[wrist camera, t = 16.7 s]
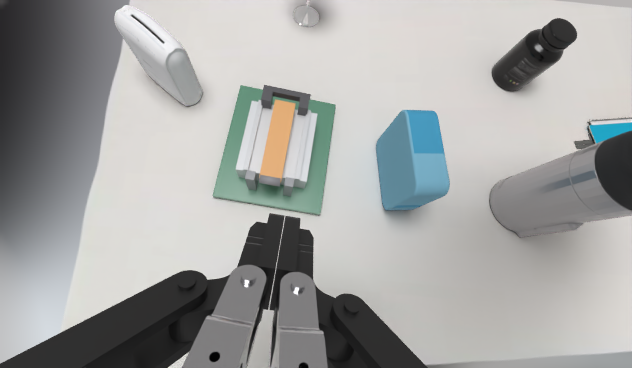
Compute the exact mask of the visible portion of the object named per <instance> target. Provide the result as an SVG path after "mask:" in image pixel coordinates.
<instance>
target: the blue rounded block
mask: <svg viewBox="0 0 632 368" xmlns="http://www.w3.org/2000/svg"><path fill="white" fill-rule="evenodd" d="M376 152H377V161H378V169H379V178H380V187H381V196H382V204H383V207H384V208H385V209H386V210H413V209H415V208H417V207H420V206H422V205H424V204H427V203H429V202H431V201H434V200H436V199H438V198H441V197H443V196H445V195H446V194H447V192H448V190H449V185H450V183H449V176H448V171H447V165H446V160H445V154H444V149H443V143H442V138H441V132H440V126H439V121H438V116H437V114H436V113H435V112H434V111H421V110H402V111H401V112H400V113H399V114H398V116H397V117H396V118H395V119H394V121H393V122H392V123H391V124H390V126H389V127H388V128H387V129H386V131H385V132H384V133H383V134H382V135H381V137H380V138H379V139H378V141H377V145H376Z"/></svg>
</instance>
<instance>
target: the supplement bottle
mask: <svg viewBox="0 0 632 368" xmlns="http://www.w3.org/2000/svg"><path fill="white" fill-rule="evenodd" d="M576 32H577V31H576V29H575V28H574V26H573V25H572V24H571V23H570V22H568V21H566V20H564V19H561V18H557V19H553V20H552V21H551V22H549V23H548V24H547V25H546V26H544V27H543V28H542V29H537V30H534V31H532V32H530V33H528V34H527V35H526V36H525V37H524V38H523V39H522V40H521V41H520V42H519V43H517V44H516V45H515V46H514V47H513V48H512V49H511V50H510V51H509V52H508V53H507V54H506V55H505V56H503V57H502V58H501V59H500V60H499V61H498V62H497V63H496V64H495V65H494V67H493V71H492V74H493V78H494V80H495V82H496V83H497V84H498V85H499V86H500V87H501V88H503V89H505V90H509V91H516V90H519V89H521V88H522V87H524V86H525V85H526V84H528V83H529V82H530V81H532V80H533V79H535V78H536V77H537V76H539V75H540V74H541V73H543V72H544V71H545V70H547V69H548V68H550V67H551V66H552V65H554V64H555V63H556V62H557V61H559V60H560V58H561V57H562V54H563V50H564V49H565V48H567V47H568V46H569V45H570V44H571V43H573V42H574V41H575V40H576V38H577V33H576Z"/></svg>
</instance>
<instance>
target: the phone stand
mask: <svg viewBox="0 0 632 368" xmlns="http://www.w3.org/2000/svg"><path fill="white" fill-rule="evenodd" d="M618 118H619V117H618ZM589 121H590V119H589ZM587 123H591V125H590V126H589V132H590V134H588V136H589V138H590V140H583V141H574V142H575V145H576V147H577V149H583V148H586V147H589V146H591V145H594V144H597V143H599V142H602V141H604V140H607V139H609V138H612V137H614V136H617V135H619V134H622V133H625V132H628V131H632V118H619V119H604V120H601V119H600V120H592V121H590V122H587ZM581 144H585V145H581Z"/></svg>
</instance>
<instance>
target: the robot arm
mask: <svg viewBox="0 0 632 368" xmlns="http://www.w3.org/2000/svg"><path fill="white" fill-rule="evenodd" d="M490 206H491V209H492V212H493V214H494V216H495V217H496V219H497V220H498V221H499V222H500V223H501V224H502V225H503V226H504V227H506V228H507V229H510V230H512V231H514V232H516V233H517V234H518V236H519V237H526V236H534V235H541V234H549V233H556V232H564V231H571V230H576V229H577V228H579V227H580V226H581V225H582V224H583V223H586V222H592V221H599V220H605V219H612V218H618V217H624V216H631V215H632V131H628V132H625V133H622V134H619V135H617V136H614V137H612V138H609V139H607V140H604V141H602V142H599V143H597V144H594V145H591V146H589V147H586V148H584V149H581V150H579V151H576V152H574V153H571V154H568V155H566V156H563V157H561V158H558V159H556V160H553V161H550V162H548V163H545V164H543V165H540V166H538V167H535V168H532V169H530V170H527V171H525V172H522V173H520V174H517V175H515V176H511V177H509V178H507V179H504V180H502V181H500V182H498V183H497V184H496V185H495V186H494V187H493V189H492V191H491V194H490ZM283 221H284V216H283V215H277V214H271V213H270V214H269V218H268V222H267V223H261V222H256V223H255V224H254V225H253V226H252V227H251V228H250V230H249V233H248V237H247V239H246V243H245V245H244V248H243V251H242V254H241V257H240V260H239V263H238V266H237V268H236V269H234V270H233V271H232V273H231V274H230V275H228V276H226V277H224V278H220V279H212V280H207V278H206V277H205V276H204V275H203V274H202V273H200V272H198V271H193V270H188V271H182V272H179V273H177V274H175V275H173V276H171V277H169V278H167V279H165V280H163V281H161V282H159V283H157V284H155V285H153V286H151V287H149V288H147V289H145V290H143V291H142V292H140V293H138V294H136V295H134V296H132V297H130V298H128V299H126V300H124V301H122V302H120V303H118V304H116V305H114V306H112V307H110V308H108V309H106V310H104V311H102V312H100V313H99V314H97V315H95V316H93V317H91V318H89V319H87V320H85V321H83V322H81V323H79V324H77V325H75V326H73V327H71V328H69V329H67V330H65V331H63V332H61V333H59V334H58V335H56V336H54V337H52V338H50V339H48V340H46V341H44V342H42V343H40V344H38V345H36V346H34V347H32V348H30V349H28V350H27V351H24V352H23V353H20V354H18V355H16V356H15V357H13V358H11V359H9V360H7V361H5V362H3V363H1V364H0V368H168V367H169V366H170V365H172V364H173V363H174V362H176V361H177V360H178V359H180V358H181V357H182V356H184V355H185V354H186V353H188V352H189V351H190V352H189V354H188V356H187V358H186V360H185V362H184V365H183V367H182V368H247V366H248V362H249V359H250V355H251V352H252V348H253V344H254V341H255V337H256V334H257V330H258V326H259V323H260V321H261V318H262V313H263V309H267V310H268V307H269V301H270V296H271V290H272V285H273V279H274V274H275V268H276V262H277V257H278V262H277V268H276V274H275V280H274V286H273V292H272V298H271V304H270V310H274V317H273V323H272V328H271V341H270V356H269V368H427V367H426V366H425V365H424V364H423V363H422V361H421V360H420V359H419V358H418V357H417V356H416V355H415V354H414V353H413V352H412V351H411V350H410V349H409V348H408V347H407V346H406V345H405V344H404V343H403V342H402V341H401V340H400V339H399V338H398V337H397V335H396V334H395V333H394V332H393V331H392V330H391V329H390V328H389V327H388V326H387V325H386V324H385V323H384V322H383V321H382V320H381V319H380V318H379V317H378V316H377V315H376V314H375V313H374V312H373V311H372V309H371V308H370V307H369V306H368V305H367V304H366V303H365V302H364V301H363V300H362V299H360V298H359V297H357V296H355V295H352V294H341V295H339V296H337V297H336V298H334V297H331V296H329V295H327V294H325V293H323V292H322V291H320V290H319V289H318V288H317V287H316V285H315V283H314V281H313V236H312V234H311V232H310V231H309V230H304V229H300V218H295V217H289V216H286V217H285V223H284V228H283V234H282V239H281V233H282V227H283ZM280 239H281V245H280ZM279 245H280V250H279ZM278 251H279V256H278Z"/></svg>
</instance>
